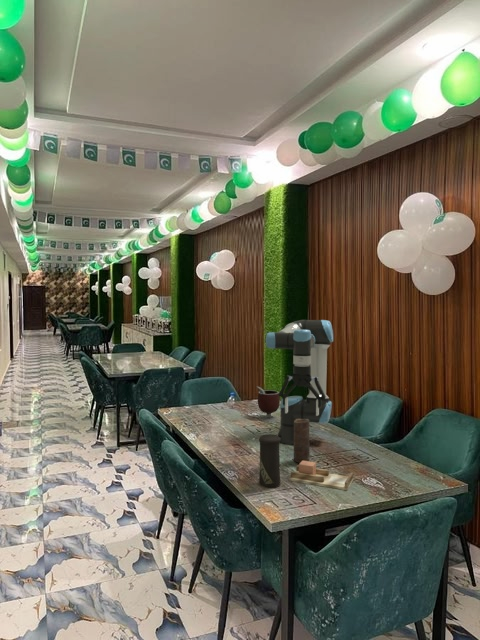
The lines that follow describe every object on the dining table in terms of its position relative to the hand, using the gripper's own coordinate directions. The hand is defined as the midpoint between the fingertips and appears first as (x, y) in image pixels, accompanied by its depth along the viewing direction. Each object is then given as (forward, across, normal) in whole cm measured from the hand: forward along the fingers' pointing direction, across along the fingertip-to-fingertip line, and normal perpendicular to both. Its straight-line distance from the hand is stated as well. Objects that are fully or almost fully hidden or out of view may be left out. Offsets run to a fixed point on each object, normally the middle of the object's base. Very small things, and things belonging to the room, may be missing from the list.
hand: (301, 413), depth 201 cm
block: (+24, +4, -6) cm, 25 cm away
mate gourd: (+25, -38, +82) cm, 94 cm away
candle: (+26, -2, +12) cm, 28 cm away
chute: (+26, +10, -6) cm, 28 cm away
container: (+26, -10, -18) cm, 33 cm away
